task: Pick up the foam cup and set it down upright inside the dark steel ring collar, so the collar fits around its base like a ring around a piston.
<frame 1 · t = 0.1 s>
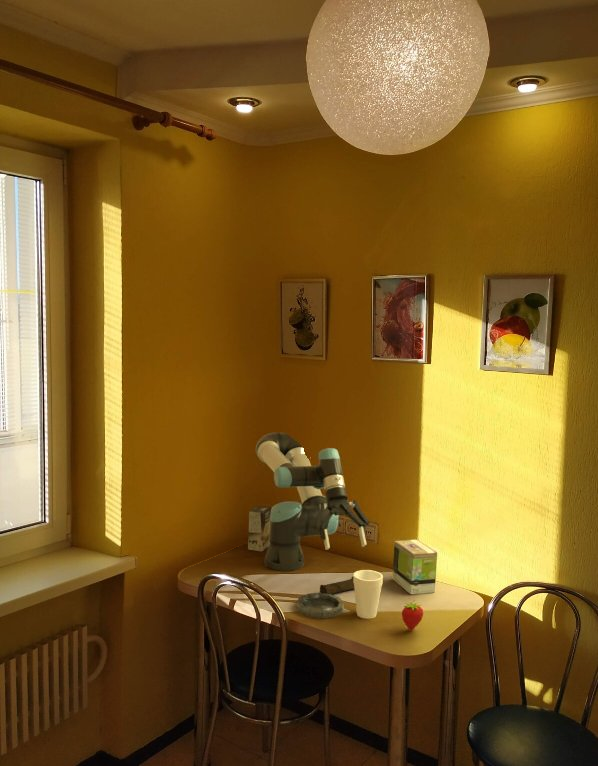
hand: (346, 547, 243), 15 cm above the table, tool tilted 35°, fingers open, 13 cm apart
hand tool: (343, 591, 244), on the table
strawberry: (411, 631, 215), on the table
foam cup: (366, 614, 225), on the table
coffee box: (259, 547, 285), on the table
ring collar: (320, 608, 229), on the table
tea box: (413, 586, 250), on the table
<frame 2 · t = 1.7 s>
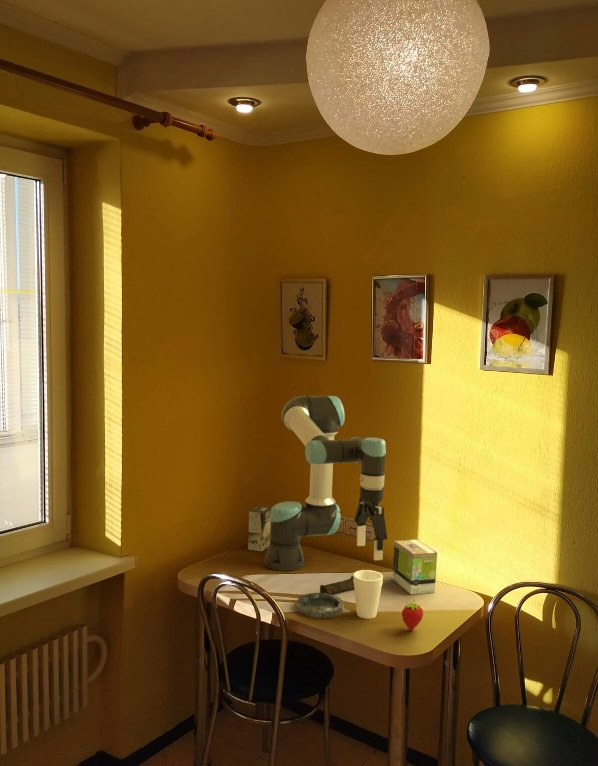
hand: (369, 552, 223), 21 cm above the table, tool pointing down, fingers open, 13 cm apart
nothing on the table moved.
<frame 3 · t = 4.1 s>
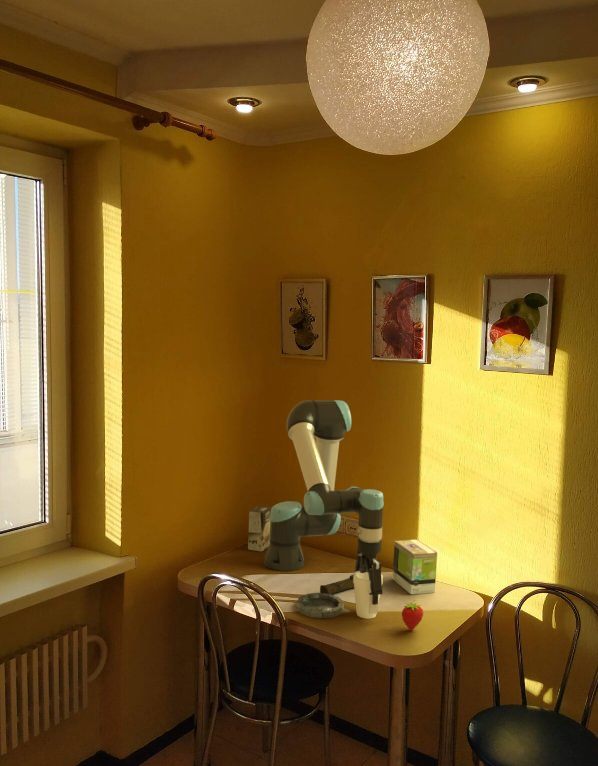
hand: (366, 606, 225), 3 cm above the table, tool pointing down, fingers closed on foam cup, 9 cm apart
foam cup: (366, 614, 225), on the table, touching gripper
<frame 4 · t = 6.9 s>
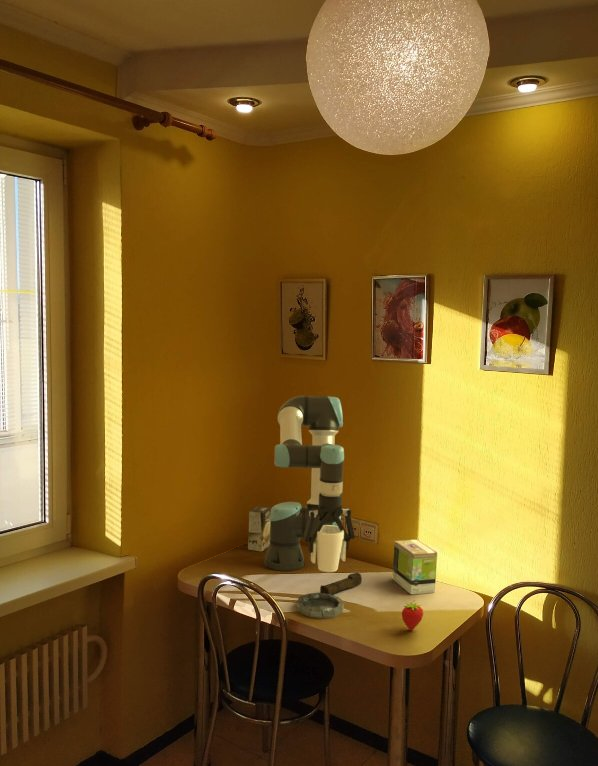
hand: (328, 560, 227), 16 cm above the table, tool pointing down, fingers closed on foam cup, 9 cm apart
foam cup: (327, 569, 227), point 13 cm above the table, touching gripper
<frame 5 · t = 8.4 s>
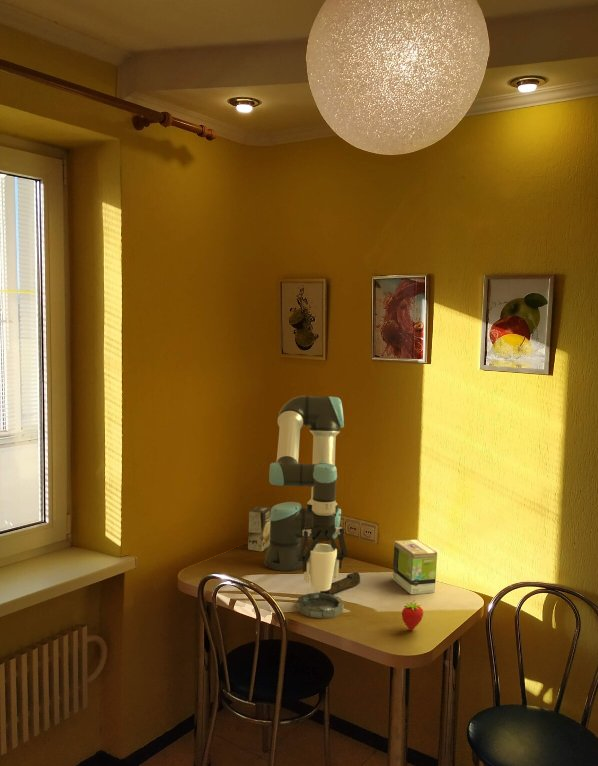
hand: (321, 579, 228), 10 cm above the table, tool pointing down, fingers closed on foam cup, 9 cm apart
foam cup: (320, 587, 228), point 7 cm above the table, touching gripper
when the fingers open (5 cm above the table, at t = 9.8 s): foam cup drops 2 cm, resting on ring collar.
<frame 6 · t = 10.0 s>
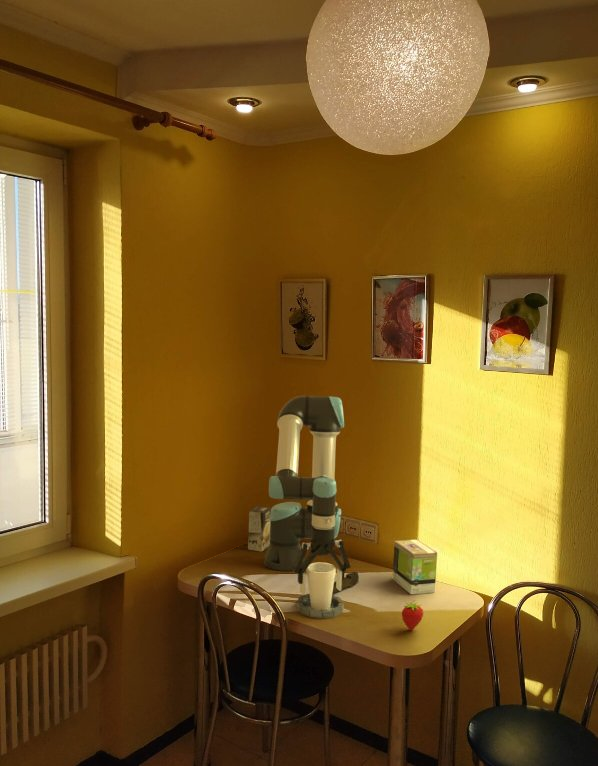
hand: (320, 591, 228), 6 cm above the table, tool pointing down, fingers open, 12 cm apart
foam cup: (320, 606, 229), resting on ring collar
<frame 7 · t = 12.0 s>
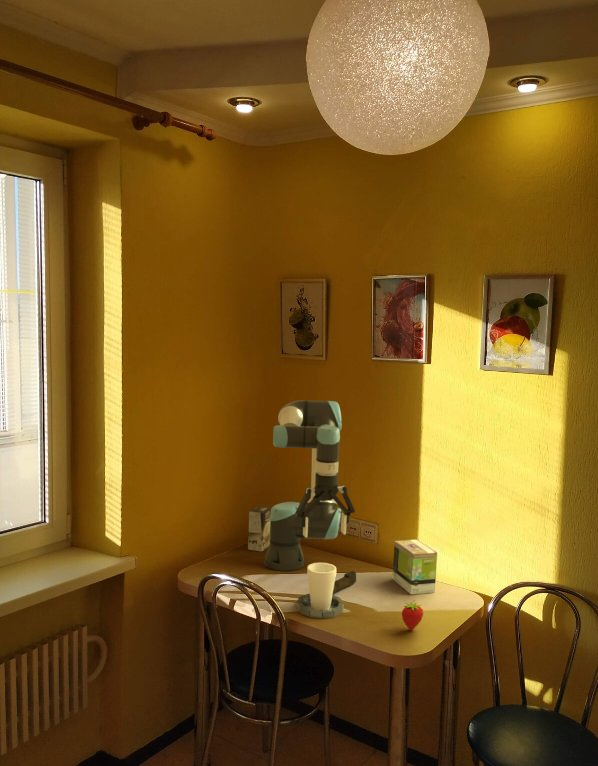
hand: (324, 534, 235), 22 cm above the table, tool pointing down, fingers open, 13 cm apart
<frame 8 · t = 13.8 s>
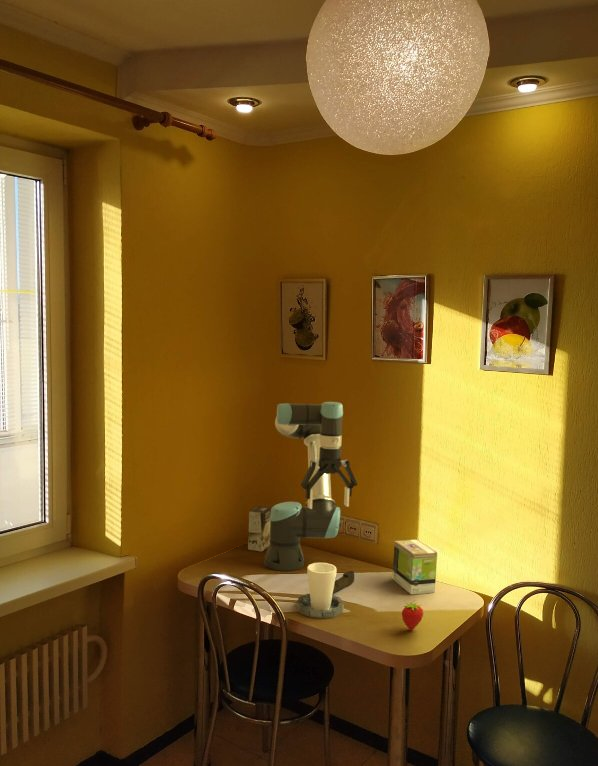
hand: (328, 506, 244), 29 cm above the table, tool pointing down, fingers open, 13 cm apart
at the end: foam cup 0.1 cm off-centre on the ring collar, point 0.4 cm above the ring collar's base; foam cup tilted 0°; the gripper is holding nothing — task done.
